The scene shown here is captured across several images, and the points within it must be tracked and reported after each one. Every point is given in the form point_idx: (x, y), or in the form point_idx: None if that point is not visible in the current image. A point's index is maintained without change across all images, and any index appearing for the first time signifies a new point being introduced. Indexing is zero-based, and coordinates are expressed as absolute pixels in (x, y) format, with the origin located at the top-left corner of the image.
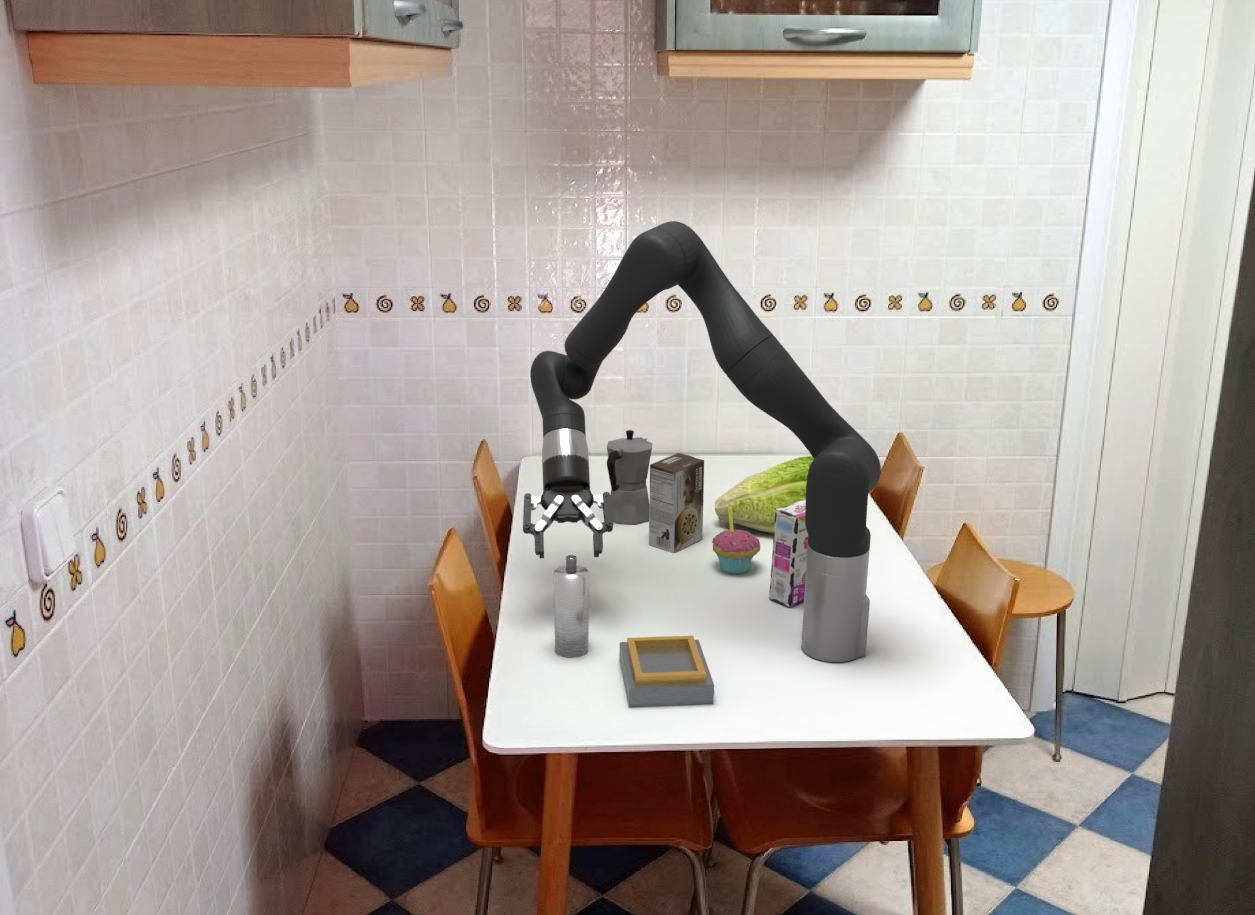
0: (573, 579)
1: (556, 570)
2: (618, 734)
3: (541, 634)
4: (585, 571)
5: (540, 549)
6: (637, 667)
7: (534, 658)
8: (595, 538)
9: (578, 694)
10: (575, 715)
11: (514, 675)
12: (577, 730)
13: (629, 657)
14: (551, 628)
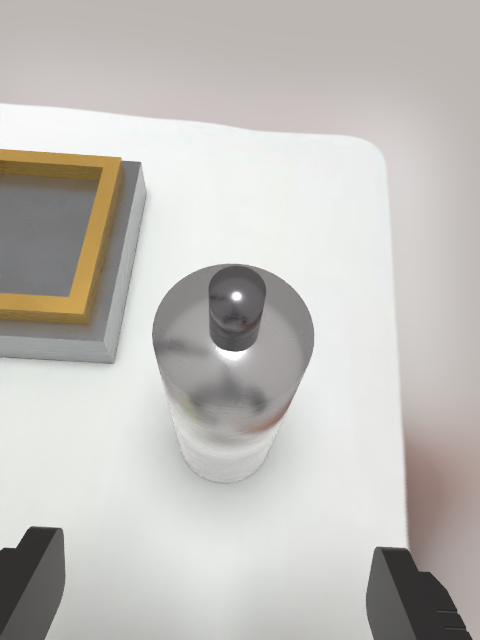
0: (232, 265)
1: (302, 352)
2: (184, 133)
3: (304, 548)
4: (167, 325)
5: (408, 562)
6: (105, 186)
7: (323, 401)
8: (5, 604)
9: (233, 243)
10: (247, 185)
11: (366, 329)
12: (248, 149)
13: (102, 267)
14: (272, 591)
